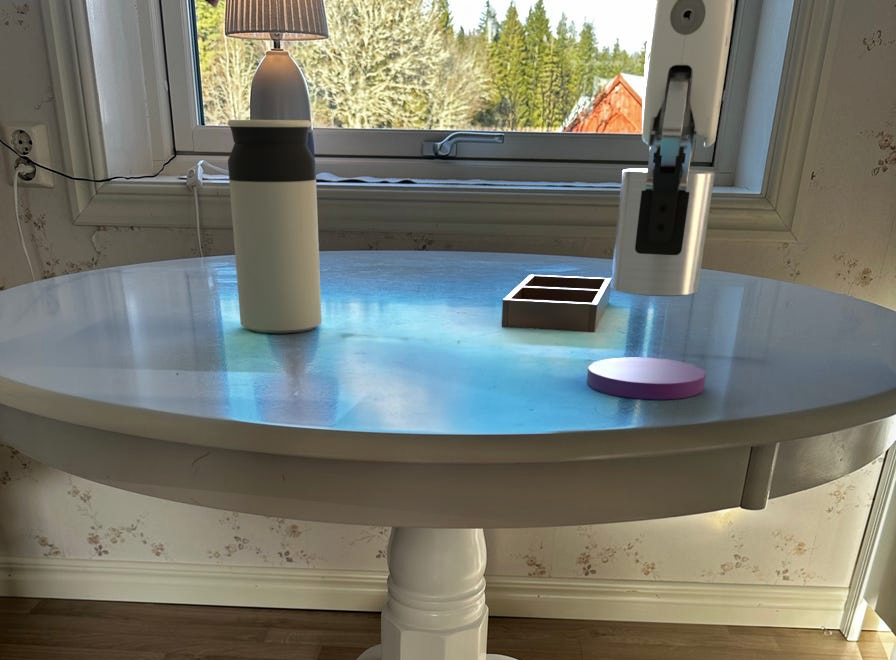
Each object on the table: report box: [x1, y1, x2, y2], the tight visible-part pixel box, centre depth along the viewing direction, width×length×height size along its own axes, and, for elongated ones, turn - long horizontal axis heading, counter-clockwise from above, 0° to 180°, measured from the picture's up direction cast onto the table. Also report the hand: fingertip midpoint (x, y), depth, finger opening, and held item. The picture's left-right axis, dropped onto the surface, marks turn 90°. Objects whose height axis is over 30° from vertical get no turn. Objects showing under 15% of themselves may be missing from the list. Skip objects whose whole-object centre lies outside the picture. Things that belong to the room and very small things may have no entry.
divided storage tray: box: [501, 274, 611, 333], centre depth 99 cm, size 9×17×3 cm, turn 165°
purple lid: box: [586, 356, 707, 401], centre depth 75 cm, size 9×9×1 cm
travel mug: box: [227, 119, 323, 334], centre depth 90 cm, size 8×8×18 cm
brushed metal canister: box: [610, 168, 716, 297], centre depth 70 cm, size 6×6×8 cm
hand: (659, 245), depth 70 cm, fingers closed on brushed metal canister, 6 cm apart
